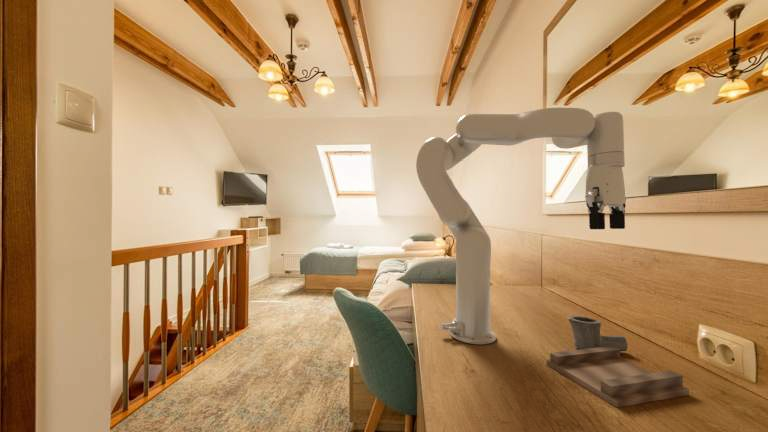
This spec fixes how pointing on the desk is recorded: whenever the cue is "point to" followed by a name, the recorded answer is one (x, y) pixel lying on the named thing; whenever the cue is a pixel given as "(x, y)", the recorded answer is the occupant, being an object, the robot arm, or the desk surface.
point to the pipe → (593, 334)
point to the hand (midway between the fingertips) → (607, 228)
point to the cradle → (616, 376)
